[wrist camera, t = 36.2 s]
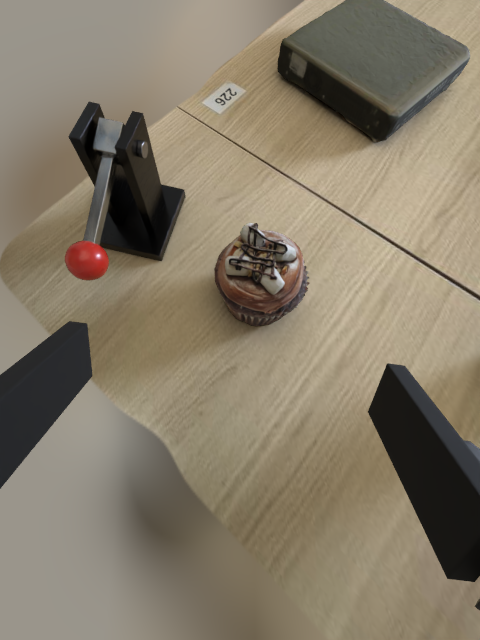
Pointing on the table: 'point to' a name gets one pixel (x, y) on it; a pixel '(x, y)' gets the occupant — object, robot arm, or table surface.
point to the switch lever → (97, 206)
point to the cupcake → (261, 276)
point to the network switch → (372, 63)
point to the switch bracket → (130, 188)
